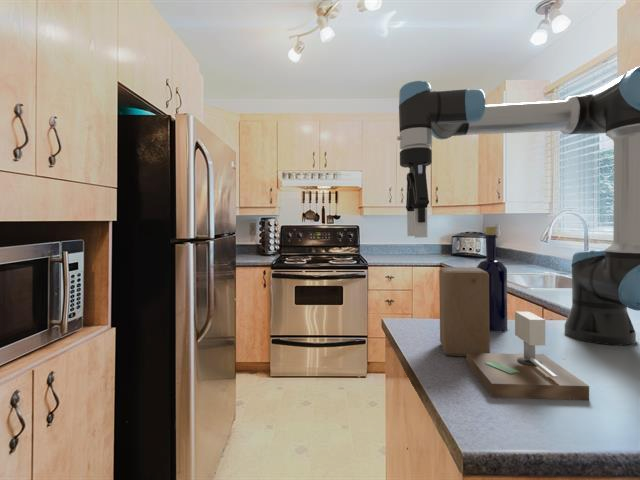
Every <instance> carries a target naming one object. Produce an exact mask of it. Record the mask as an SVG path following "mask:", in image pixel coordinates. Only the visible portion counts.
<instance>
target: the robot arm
mask: <svg viewBox="0 0 640 480" xmlns="http://www.w3.org/2000/svg"><path fill="white" fill-rule="evenodd" d="M398 95H399V96H398V120H399V121H398V122H399V123H398V124H399V125H398V126H399V128H398V129H399V136H397V138H396V140H397V141H399V149H400V152H399V165H400V167H402V168H406V169H407V168H408V169H409V170H408V171H409V172H408V173H407V174H406V202H405V203H406V206H405V208H406V224H407V225H406V226H407V227H406V228H407V229H406V230H407V232H406V233H407V237H414V238H428V206H429V204H430V201H429V189H428V183H427V181H428V180H427V172H426V171H427V167H428V166H430V165H431V164H432V162H433V161H432V159H433V157H432V155H433V153H432V152H433V151H432V149H431V147H432V146H433V142H432V139H433V137H434V138H435V139H437V140H447V139H449V138H452V137H453V136H454V137H457V136H475V135H477V136H478V135H492V134H493V135H494V134H495V135H496V134H516V133H517V134H518V133H519V134H520V133H537V132H538V133H539V132H542V133H543V132H556V131H557V132H560V133H562V134H563V135H583V134H584V135H586V134H591V135H592V134H594V135H595V134H605V136H606V137H608V138H609V139H610V140H612V141H613V231H612V232H613V234H612V235H613V236H612V237H613V242H612V244H611V245H610V246H609V245H608V247H607V248H605V249H602V250H601V249H597V250H582V251H577V252H575V253H573V255H572V259H571V265H570V266H571V290H572V292H571V295H572V296H571V297H572V298H571V302H572V303H571V307H570V310H569V313H568V315H567V318H566V320H565V323H564V334H565V335H567V336H568V337H569V338H570V337H571V338H573V339H576V340H580V341H584V342H588V343H595V344H600V345H602V344H603V345H610V346H611V345H614V346H625V345H627V346H628V345H631V344H635V343H636V339H637V335H636V334H637V333H636V331H635V328H634V325H633V323H632V320H631V317H630V316H629V312H628V309H629V310H634V311H640V65H639V66H636V67H634V68H631V69H628V71H625V72H624V74H623V75H621V76H619V77H618V78H615V79H614V80H612V81H611V82H609V83H608V84H605V85H604V86H601V87H600V88H598V89H596V90H594V91H592V92H588V93H584V94H581V95H580V94H579V95H570V96H567V97H566V98H565V100H554V101H553V100H552V101H536V102H534V101H533V102H519V103H518V102H517V103H501V104H499V103H498V104H486V95H485V92H484V91H483V90H482V89H479V88H466V89H453V90H437V91H436V90H432V87H431V84H430V83H429V82H428V81H425V80H424V81H423V80H414V81H410V82H407V83H405V84H404V85H402V86H401V88H400V89H399V94H398ZM432 136H433V137H432Z"/></svg>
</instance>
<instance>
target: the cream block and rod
mask: <svg viewBox="0 0 640 480" xmlns="http://www.w3.org/2000/svg"><path fill="white" fill-rule="evenodd" d="M514 335H515V336H516V337H517V338H519V339H520V340H522V341H523V354H524V359H526V360H530V361H531V362H533V363H534V364H535V365H536V366H538V367H539V368H540V369H541V370H543V371H544V372H545V373H547V374H548V375H549V376H550V377H552V378H553V379H557V375H555V374H554V373H553V372H551V371H550V370H549V369H547V368H546V367H545V366H544V365H542V364H541V363H540V362H538V361H537V360H536V359H535V354H536V346H546V319H545V318H543V317H540V316H539V315H536V314H535V313H533V312H531V311H514Z"/></svg>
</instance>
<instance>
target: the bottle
mask: <svg viewBox="0 0 640 480" xmlns="http://www.w3.org/2000/svg"><path fill="white" fill-rule="evenodd" d="M497 237H498V236H497V226H486V227H485V235H484V238H485V245H486V248H485V249H486V250H485V251H486V259H484V260H481V261H480V262H479V263H478V265H477V266H476V267H477V268H480V269H482V270H484V271H486V272H488V274H489V332H498V333H500V331H501V332H505V330H507V329H508V269H507V267H506V266H505V264H504V263H503V262H502V261H500V260H497V259H496V257H497V255H496V252H497V251H496V249H497V246H496V245H497V243H496V242H497ZM507 331H508V330H507Z"/></svg>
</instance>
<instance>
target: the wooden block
mask: <svg viewBox="0 0 640 480" xmlns="http://www.w3.org/2000/svg"><path fill="white" fill-rule="evenodd" d="M438 272H439V274H438V277H439V282H438V283H439V290H438V291H439V341H440V345H441V347H442V350H443V352H444V354H445V355H446V356H450V357H466V353H491V352H490V351H491V350H490V345H491V343H490V331H489V274H488V272H486V271H484V270H482V269H480V268H477V266H472V267H471V266H469V267H467V266H466V267H459V266H457V267H455V266H454V267H449V266H448V267H447V266H444V267H441V268H439V271H438Z"/></svg>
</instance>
